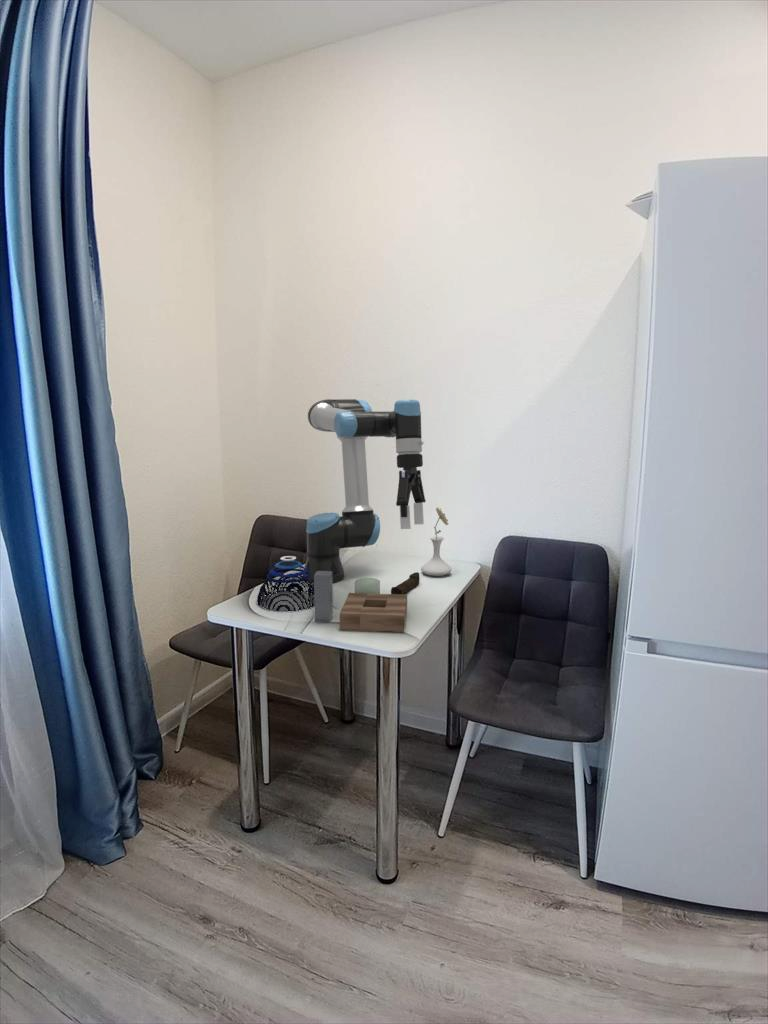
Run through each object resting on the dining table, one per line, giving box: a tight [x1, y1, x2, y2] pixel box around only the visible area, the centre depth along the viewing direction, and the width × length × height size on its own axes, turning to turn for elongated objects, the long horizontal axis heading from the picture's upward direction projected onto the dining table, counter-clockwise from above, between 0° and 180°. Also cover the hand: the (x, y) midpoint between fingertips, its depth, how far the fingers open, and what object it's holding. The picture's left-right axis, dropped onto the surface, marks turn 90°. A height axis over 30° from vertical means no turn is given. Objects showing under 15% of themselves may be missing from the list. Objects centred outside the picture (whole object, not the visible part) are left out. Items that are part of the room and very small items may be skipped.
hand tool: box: [390, 571, 421, 594], centre depth 195 cm, size 19×4×5 cm, turn 150°
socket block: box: [339, 592, 408, 633], centre depth 167 cm, size 18×18×5 cm
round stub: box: [354, 577, 381, 594], centre depth 182 cm, size 8×8×7 cm
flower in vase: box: [420, 506, 452, 577], centre depth 213 cm, size 13×11×25 cm
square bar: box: [313, 571, 334, 623], centre depth 167 cm, size 4×4×14 cm
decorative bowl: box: [256, 555, 315, 612], centre depth 183 cm, size 20×20×14 cm
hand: (412, 526), depth 168 cm, fingers open, 13 cm apart
